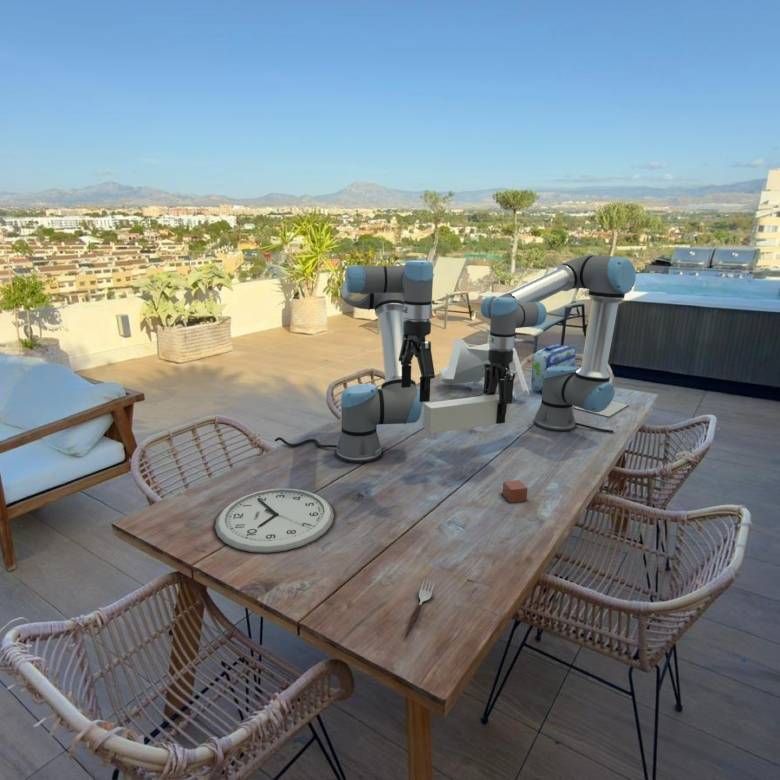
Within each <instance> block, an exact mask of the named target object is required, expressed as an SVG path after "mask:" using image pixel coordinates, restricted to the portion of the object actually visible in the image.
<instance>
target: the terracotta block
mask: <svg viewBox="0 0 780 780" xmlns="http://www.w3.org/2000/svg"><path fill="white" fill-rule="evenodd" d="M502 483H503V484H502V495H503V497H504V498H505V499H506V500H507V501H508V502H509V503H519V502H526V501H527V499H528V486H526V485H525V484H524V483H523V482H522V481H521V480H520V479H516V480H506V481H503V482H502Z"/></svg>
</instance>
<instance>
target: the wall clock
mask: <svg viewBox="0 0 780 780" xmlns="http://www.w3.org/2000/svg"><path fill="white" fill-rule="evenodd" d="M334 518H335V514H334V509H333V507H332V506H331V504H330V503H329V502H328V501H327V499H325V498H323V497H321V496H320V495H318V494H316V493H313V492H311V491H307V490H304V489H296V488H270V489H265V490H260V491H256V492H252V493H250V494H246V495H244V496H242V497H240V498H238V499H236V500H234V501H232V502H231V503H229V504H228V505H227V506H226V507H224V508H223V509H222V510H221V511H220V513H219V515H218V516H217V518H216V520H215V525H214V529H215V532H216V535H217V538H218V539H220V540H221V541H222V542H223V543H224V544H226V545H228V546H230V547H232V548H234V549H236V550H240V551H245V552H248V553H249V552H250V553H261V554H262V553H265V554H270V553H277V552H287V551H290V550H293V549H298V548H301V547H304V546H306V545H308V544H311V543H312V542H314V541H316V540H317V539H319V538H321V537H322V536H323V535H325V534H326V532H327V531H328V530H329V529H330V528H331V526H332V525H333V522H334Z"/></svg>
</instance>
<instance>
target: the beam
mask: <svg viewBox="0 0 780 780" xmlns="http://www.w3.org/2000/svg"><path fill="white" fill-rule="evenodd" d="M498 403H500V402H499V393H497V394H496V393H495V395H487V396H486V395H479V396H472V397H471V396H470V397H463V398H454V399H449V400H448V399H446V400H439V401H431V402H423V419H422V420H423V421H422V422H423V423H422V428H423V429H424V430H425V431H426V432H428V433H429V434H437V433H445V432H450V431H457V430H464V429H471V428H478V427H484V426H490V425H498V424H497V423H496V419H497V406H498ZM511 406H512V403H511V404H507V409H506V414H505V423H510V419H511V418H510V417H511Z"/></svg>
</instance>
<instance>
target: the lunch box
mask: <svg viewBox="0 0 780 780" xmlns="http://www.w3.org/2000/svg"><path fill="white" fill-rule="evenodd" d="M576 357H577V355H576V347H575V346H569V345H565V344H554V345H550V346H547V347H544V348H542V349H541V348H540V349H539V350H537V351H536V352H535V353H534V356H533V360H532V367H531V368H532V369H531V382H530V383H531V386H530V387H531V389H532V390H533V391H537V392H542V391H543V380H544V379H543V378H544V375H545V370H546V369H547V368H549V367H555V366H570V367H575V364H576Z"/></svg>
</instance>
